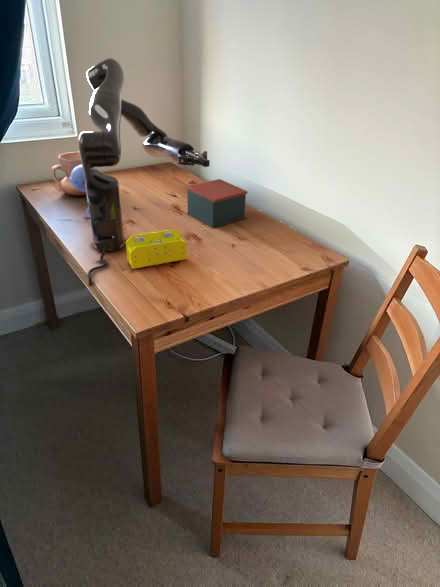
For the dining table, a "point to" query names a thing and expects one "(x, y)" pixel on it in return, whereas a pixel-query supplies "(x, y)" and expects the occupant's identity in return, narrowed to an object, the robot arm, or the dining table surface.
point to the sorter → (216, 209)
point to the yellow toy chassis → (155, 248)
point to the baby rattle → (79, 181)
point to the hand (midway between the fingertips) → (207, 163)
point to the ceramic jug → (68, 172)
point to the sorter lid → (217, 190)
